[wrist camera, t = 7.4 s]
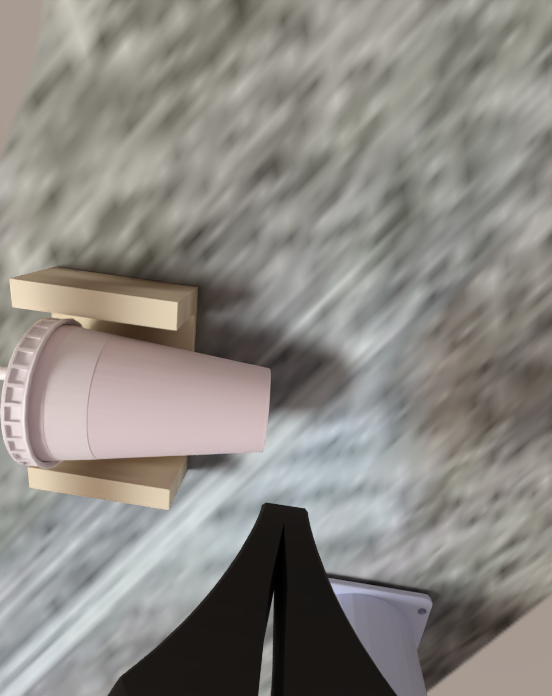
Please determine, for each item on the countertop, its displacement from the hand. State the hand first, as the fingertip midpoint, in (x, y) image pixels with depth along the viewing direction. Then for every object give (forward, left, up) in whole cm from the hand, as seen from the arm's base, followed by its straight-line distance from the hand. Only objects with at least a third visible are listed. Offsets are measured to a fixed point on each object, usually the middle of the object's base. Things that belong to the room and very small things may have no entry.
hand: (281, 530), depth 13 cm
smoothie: (+1, +1, -6) cm, 6 cm away
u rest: (0, +9, -9) cm, 13 cm away
